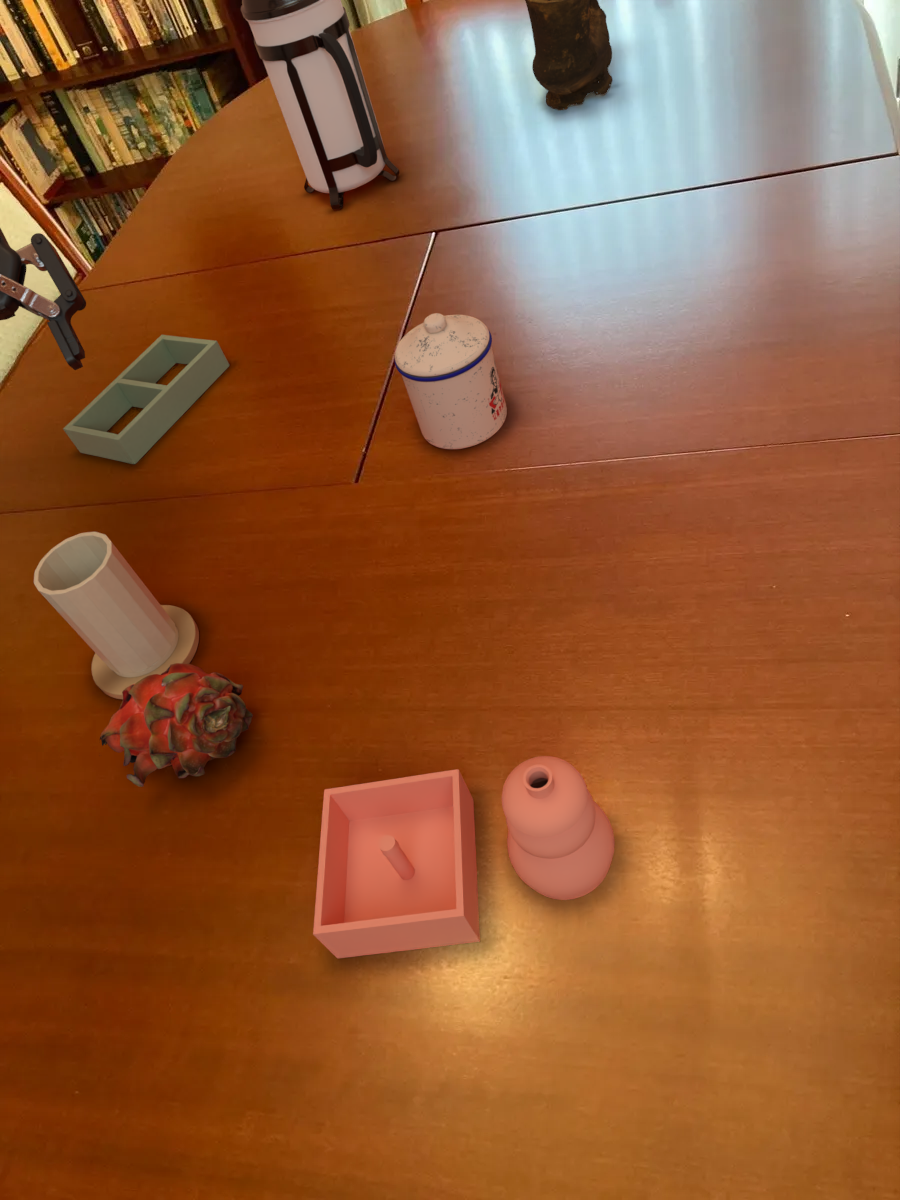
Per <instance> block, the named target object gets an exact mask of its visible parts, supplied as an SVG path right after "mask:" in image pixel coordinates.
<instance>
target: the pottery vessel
mask: <svg viewBox="0 0 900 1200" xmlns="http://www.w3.org/2000/svg"><path fill="white" fill-rule="evenodd" d="M524 1H525V4H526V8H527V13H528V18H529V21H530V25H531V31H532V36H533V45H534V54H535V55H534V57H533V59H532V66H531V67H532V68H531V69H532V73H533V76H534V79H536V81H537V82H538V84H540V86H541V87H542V88H544V89H545V90H546V91H547V92H546V95H545V103H546V105H547V106H548V107H551V108H552V109H556V110H558V111H561V110H562V111H563V110H567V109H568V108H569V106H572V105H573V106H576V105H582V104H584V102H585V99H586V97H587V96H588V95H589V94H594V95H595V96H599V95H601V96H605V95H606V94H607V93H608V91H609V90H610V88H611V85H612V83H613V76H612V75H611V74H610V72H609V67H610V65H611V63H612V58H613V50H612V49H613V48H612V45H611V42H610V32H609V27H608V24H607V14H606V13H605V11H604V10H603V8H602V7H601V6H600V4H599V0H524Z"/></svg>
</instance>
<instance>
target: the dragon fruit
mask: <svg viewBox="0 0 900 1200" xmlns="http://www.w3.org/2000/svg"><path fill="white" fill-rule="evenodd" d="M243 688H244V685H243V684H241V683H240V684H239V683H235V682H234V681H232V680H231V679H229V678H228V677H227V676H225V675H224V674H222V673H219V672H211V673H206V672H205V671H204V669H202V668H201V667H199V666H197V665H194V664H192V663H189V664H184V663H175V664H171V665H170V667H169V668H168V669H167V670H166V671H165V672H163V673H162V674H161V675H159V674H153V675H149V676H146V677H144V678H143V679H141V680H140V681H138V682H137V683H135V684H132V685H130V686H129V687H127V688H125V689H124V690H123V692H122V694H123V700H122V699H121V700H122V701H121V702H120V705H119V708H118V709H117V711H115V713H113V714H112V715H111V717H110V719H109V722H108V724H107V726H105V727H104V729H103V730H102V732H101V734H100V736H99V744H100V742H101V747H103V746H104V745H105V746H108V747H109V748H110V749H111V750H112V751H114V752H115V753H122V752H123V753H124V756H123V757H124V758H123V763H122V764H123V765H122V766H123V767H125V766H129V764H130V763H131V764H133V774H131V773H127V774H126V779H127V780H129V782H131V783H132V784H134V785H135V786H137V787H139V788H141V787H144V786H145V783H146V780H147V778H148V776H149V775H150V774H152V773H153V772H155V771H156V770H160V769H161V770H162V769H164V768H166V767H169V766H172V769H173V771H174V773H175V775H176V777H177V778H178V779H185V778H187V777H188V776H192V777H201V776H203V775H205V774H206V772H205V767H206V765H207V763H208V762H209V761H212V760H215V759H223V758H228V757H231V756H232V755H233V754H235V753H236V751H237V746H236V744H237V738H238V737H239V736H240V735H241V733H243V732H246V731H247V730H249V728H250V725H251V723H252V719H253V717H254V714H253V713H252V712H251V711H250V710H249V709H248V708H247V707H246V703H245V701H244V700H243V699H242V698H241V697H240V696H241V695H242V693H243ZM98 756H99V757H100V756H101V754H99V755H98Z"/></svg>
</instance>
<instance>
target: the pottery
mask: <svg viewBox="0 0 900 1200" xmlns="http://www.w3.org/2000/svg"><path fill="white" fill-rule="evenodd" d="M322 800H323V802H322V813H321V825H320V826H321V827H320V830H321V831H320V840H319V854H318V867H317V879H316V890H315V891H316V892H315V906H314V918H313V930H312V931H313V932H312V935H313V937H315V938H316V939H317V940H318V941H319V942H320V943H321V944H322V945H323V946H324V947H325V948H326V949H327V950H328V951H329V952H330V953H331V954H332V955H333V956H335V958H337V959H345V958H353V957H354V958H355V957H361V956H362V957H363V956H371V955H378V954H388V953H395V952H405V951H413V950H421V949H428V948H429V949H430V948H437V947H447V946H455V945H464V944H471V943H480V942H481V934H480V933H481V932H480V912H479V888H478V868H477V867H478V865H477V847H476V827H475V826H476V825H475V805H474V804H475V803H474V798H473V796H472V793H471V792H470V790H469V788H468V785H467V784H466V782H465V780H464V778H463V775H462V773H461V771H460V769H458V768H457V769H451V770H444V771H437V772H430V773H424V774H418V775H411V776H405V777H404V776H403V777H398V778H391V779H385V780H378V781H372V782H365V783H359V784H351V785H345V786H338V787H332V788H331V787H330V788H325V789H324V790H323V799H322ZM501 808H502V812H503V814H504V816H505V824H506V826H507V831H508V832H507V837H506V838H507V839H506V844H507V854H508V857H509V861H510V864H511V865H512V867H513V870H514V872H515V874H516V875H517V876H518V877H519V878H520V880H521V881H522V882H523V883H524V884H526V885H527V886H528V887H529V888H531V889H532V890H533V891H535V892H537V893H538V894H540V895H541V896H544V897H546V898H550V899H553V900H560V901H568V900H575V899H578V898H581V897H584V896H586V895H588V894H590V893H591V892H593V891H594V890H595V889H596V888H597V887H599V886H600V884H602V882H603V881H604V880H605V879H606V877H607V875H608V872H609V871H610V868H611V865H612V861H613V858H614V855H615V844H616V842H615V835H614V830H613V827H612V824H611V821H610V819H609V818H608V816H607V814H606V813H605V811H604V809H602V807H600V805H599V804H598V803H597V802H596V801H595V800H594V799H593V796H592V793H590V791H589V789H588V787H587V784H586V781H585V779H584V777H583V776H582V774H581V773H580V771H578V770H577V768H575V766H573V764H572V763H570V762H569V761H567V760H564V759H562V758H561V757H557V756H552V755H539V756H534V757H532V758H528V759H526V760H524V761H522V762H520V763H519V764H517V766H515V767H514V768H513V769H512V770H511V771H510V772H509V774H508V775H507V777H506V779H505V781H504V783H503V787H502V792H501Z"/></svg>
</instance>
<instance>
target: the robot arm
mask: <svg viewBox="0 0 900 1200" xmlns="http://www.w3.org/2000/svg"><path fill="white" fill-rule="evenodd" d="M27 265H33V266H34V267H35V268H36V269H37V270H38V271H40V272H47V273H48V275H49V276H50V278H51V280H52V282H53V283H54V286H55V287H56V288H57V291H58V292H59V294H60V295H59V296H57V298H55V300H50V299H48V298H46V297H45V296H43V295H41V294H38V293H37V292H36V291H34V290H33V289H31V288H29V287H27V286H26V285H25V280H26V274H27ZM86 307H87V301H86V299H85V297H84V295H83V293H82V292H81V290H80V289H79V287H78V285H77V283H76V282H75V280H74V278H73V276H72V275H71V272H70V271H69V269H68V268H67V266H66V264H65V263H64V261H63V258H62V257H61V255H60V254H59V252H58V249H56V248H55V246H54V244H52V243H51V242H50V240H49V239H48V238H47V237H46V236H45V234H43V233H40V232H37V233H34V234H33V235H31V238H30V243H29V244H27V245H25V246H22V247H21V248H19V249H17V250H15V249H13V248H12V247H11V246H10V244H9V242H8V240H7V238H6V235H5V234H4V232H3V230H2V228H1V227H0V321H6V320H9V319H11V318H13V317H15V316H16V314H15V313H16V312H17V311H18V310H19V308H22V309H24V310H26V311H28V312H30V313H32V314H33V315H35V316H38V317H41V318H43V319H45V320H47V322H46V324H47V326H48V328H49V329H50V332H51V334H52V336H53V338H54V340H55V343H56V344H57V346H58V348H59V350H60V352H61V354H62V356H63V358H64V360H65V362H66V363H67V365H68V366H69V367H70V368H71V369H73V370H74V371H78V370H79V369H81V368H84V365H83V363H82V360H83V359H86V351H85V349H84V347H83V345H82V343H81V341H80V339H79V337H78V335H77V333H76V331H75V329H74V327H73V325H72V318H73V316H74V315H75V314H76V313H77V312H79V311H83V310H85V308H86Z"/></svg>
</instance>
